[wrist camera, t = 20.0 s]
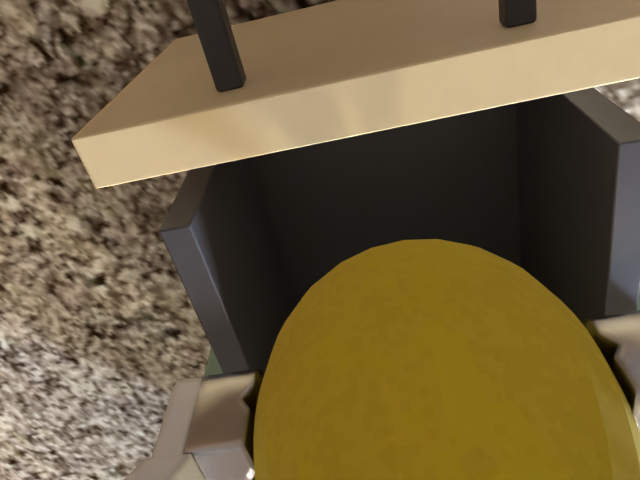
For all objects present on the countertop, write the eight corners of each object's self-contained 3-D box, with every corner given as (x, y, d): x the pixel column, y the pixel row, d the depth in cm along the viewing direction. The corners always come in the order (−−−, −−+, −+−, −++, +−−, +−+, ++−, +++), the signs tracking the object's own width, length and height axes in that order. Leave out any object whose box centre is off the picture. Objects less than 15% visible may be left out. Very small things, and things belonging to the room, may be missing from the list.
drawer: (114, -131, 16) (-76, -149, 8) (555, -257, 14) (804, -421, 7) (288, 358, 27) (272, 540, 19) (550, 319, 25) (644, 500, 18)
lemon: (575, 295, 12) (895, 812, 5) (371, 399, 14) (415, 876, 7) (444, 105, 10) (721, 598, 3) (221, 261, 12) (77, 777, 5)
